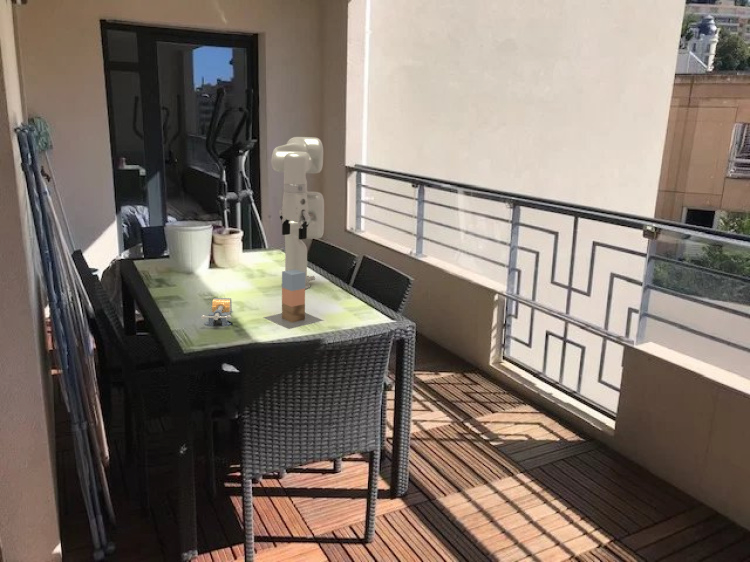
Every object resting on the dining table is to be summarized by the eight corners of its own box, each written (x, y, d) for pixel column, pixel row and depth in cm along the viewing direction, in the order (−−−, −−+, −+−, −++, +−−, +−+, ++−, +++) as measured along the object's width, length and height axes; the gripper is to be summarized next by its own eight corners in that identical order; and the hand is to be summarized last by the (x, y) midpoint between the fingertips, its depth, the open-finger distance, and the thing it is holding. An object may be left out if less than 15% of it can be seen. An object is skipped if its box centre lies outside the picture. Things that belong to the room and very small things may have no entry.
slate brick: (295, 284, 232) (295, 269, 231) (305, 288, 228) (305, 272, 226) (282, 287, 228) (282, 271, 226) (291, 291, 224) (292, 274, 222)
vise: (209, 313, 237) (209, 296, 236) (237, 313, 238) (236, 296, 237) (201, 329, 220) (200, 311, 218) (231, 329, 221) (230, 311, 219)
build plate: (297, 312, 242) (297, 309, 242) (323, 323, 231) (323, 320, 231) (263, 320, 231) (263, 317, 231) (288, 332, 221) (288, 329, 220)
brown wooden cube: (294, 315, 235) (295, 300, 234) (304, 319, 231) (305, 304, 230) (282, 318, 231) (282, 302, 230) (291, 322, 227) (291, 306, 225)
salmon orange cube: (295, 300, 234) (295, 284, 232) (304, 304, 230) (305, 288, 228) (282, 302, 230) (282, 287, 228) (291, 306, 225) (291, 291, 224)
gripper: (318, 191, 215) (317, 239, 220) (288, 185, 227) (288, 231, 232) (301, 192, 210) (300, 242, 215) (271, 186, 222) (271, 233, 226)
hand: (294, 236), depth 223 cm, fingers open, 9 cm apart
